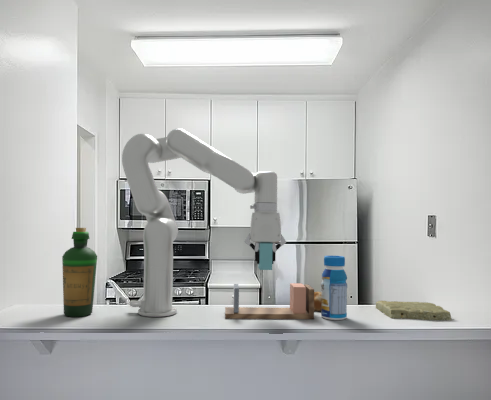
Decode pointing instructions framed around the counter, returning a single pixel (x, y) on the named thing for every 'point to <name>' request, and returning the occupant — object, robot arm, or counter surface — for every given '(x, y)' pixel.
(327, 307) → the beverage bottle
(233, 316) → the wooden book rack
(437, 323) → the counter surface
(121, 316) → the counter surface
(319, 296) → the bread roll
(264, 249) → the teal rectangular block
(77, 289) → the bottle
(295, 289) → the salmon pink block
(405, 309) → the decorative tile
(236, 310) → the bookend
